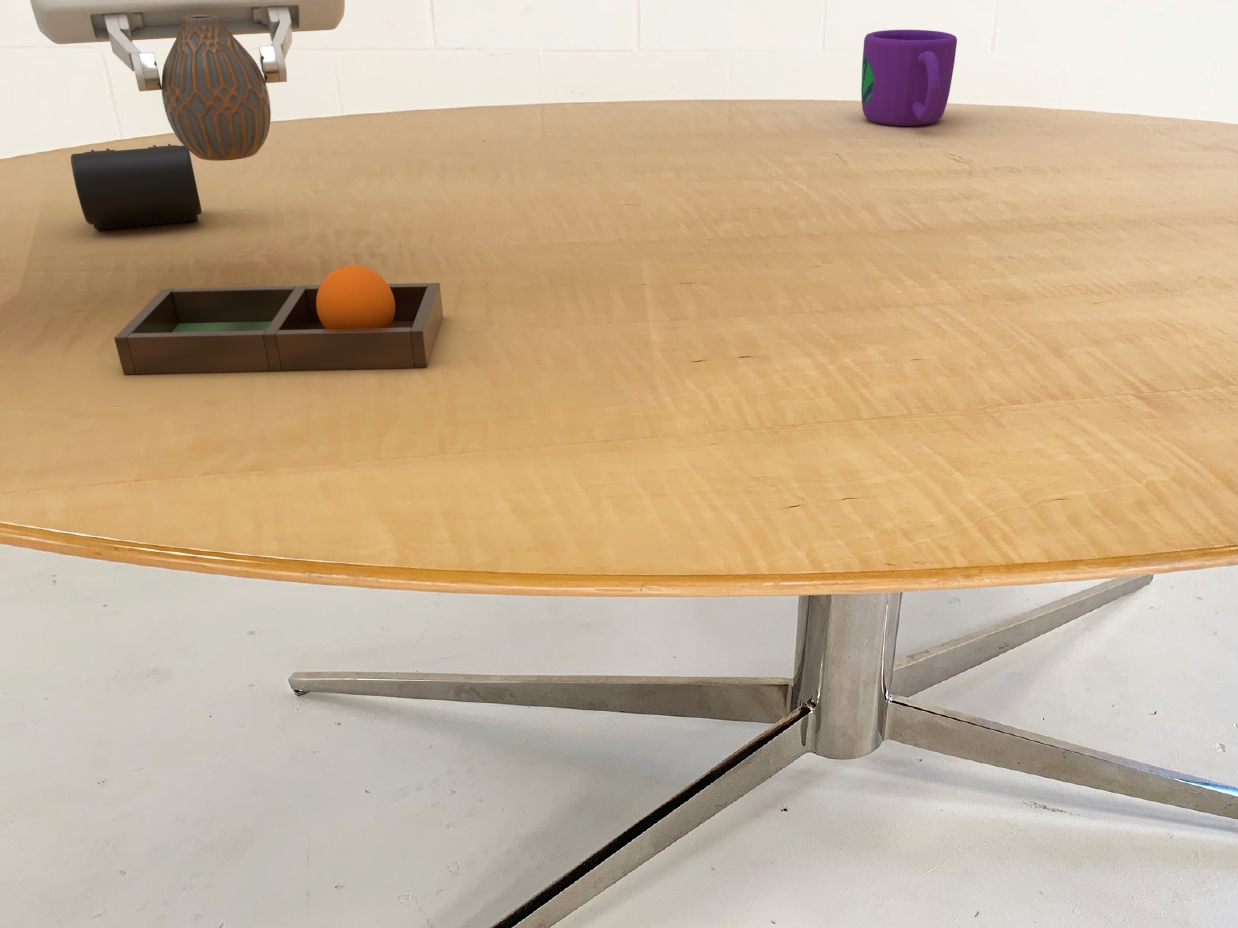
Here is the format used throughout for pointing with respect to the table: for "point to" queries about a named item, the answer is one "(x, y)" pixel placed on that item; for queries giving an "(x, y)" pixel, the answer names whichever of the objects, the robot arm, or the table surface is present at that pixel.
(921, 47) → the mug
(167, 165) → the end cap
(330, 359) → the tray
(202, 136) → the vase
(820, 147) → the table surface
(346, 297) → the clementine
